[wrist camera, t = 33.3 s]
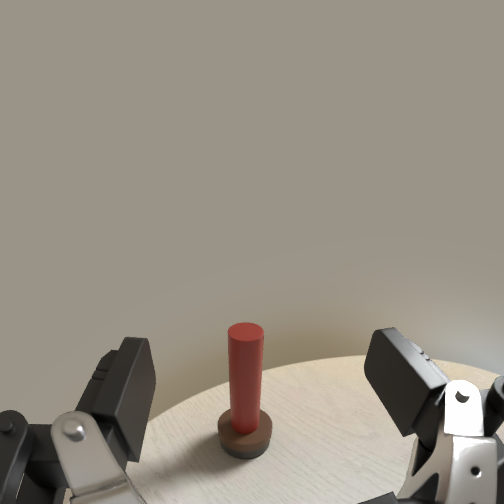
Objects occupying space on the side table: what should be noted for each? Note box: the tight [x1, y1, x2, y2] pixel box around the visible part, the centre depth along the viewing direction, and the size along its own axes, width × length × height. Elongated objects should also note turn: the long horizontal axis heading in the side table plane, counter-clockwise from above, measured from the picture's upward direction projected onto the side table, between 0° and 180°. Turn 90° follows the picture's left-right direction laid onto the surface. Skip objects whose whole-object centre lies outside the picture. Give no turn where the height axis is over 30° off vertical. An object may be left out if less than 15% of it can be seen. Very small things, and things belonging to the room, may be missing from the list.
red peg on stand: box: [218, 323, 272, 459], centre depth 22 cm, size 5×5×14 cm
